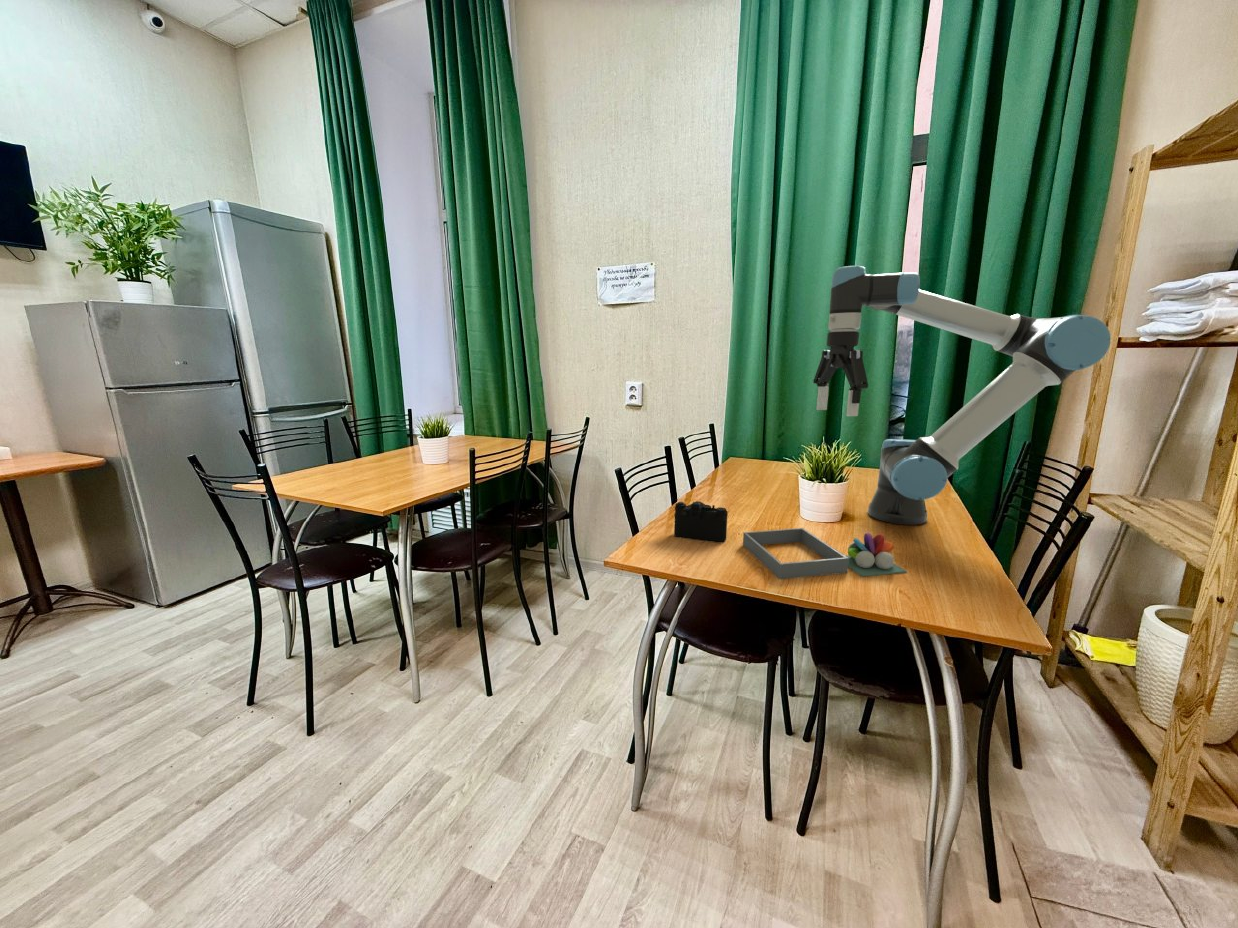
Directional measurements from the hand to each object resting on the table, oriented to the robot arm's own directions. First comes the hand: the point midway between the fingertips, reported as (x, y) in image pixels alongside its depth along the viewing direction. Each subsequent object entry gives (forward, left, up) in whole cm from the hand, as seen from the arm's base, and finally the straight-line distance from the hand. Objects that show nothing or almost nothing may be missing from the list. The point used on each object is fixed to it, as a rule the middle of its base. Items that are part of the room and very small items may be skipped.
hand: (836, 413), depth 131 cm
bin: (+21, +19, -32) cm, 43 cm away
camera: (+37, 0, -32) cm, 49 cm away
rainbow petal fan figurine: (+5, +26, -31) cm, 41 cm away
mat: (+6, +26, -32) cm, 41 cm away
